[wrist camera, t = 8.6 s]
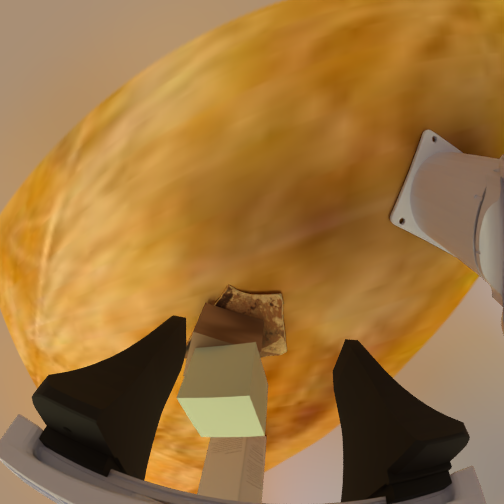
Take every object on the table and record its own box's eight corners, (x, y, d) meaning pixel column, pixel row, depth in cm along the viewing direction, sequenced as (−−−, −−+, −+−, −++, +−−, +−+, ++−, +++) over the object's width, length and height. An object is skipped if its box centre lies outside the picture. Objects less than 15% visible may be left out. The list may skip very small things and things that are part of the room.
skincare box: (230, 444, 32) (217, 519, 21) (209, 429, 31) (191, 508, 20) (269, 435, 30) (262, 517, 19) (249, 419, 29) (237, 508, 18)
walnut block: (264, 320, 23) (261, 351, 19) (247, 361, 25) (242, 393, 21) (205, 302, 23) (193, 331, 19) (194, 345, 25) (183, 375, 21)
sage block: (255, 341, 19) (249, 395, 14) (268, 384, 20) (264, 435, 16) (195, 348, 20) (176, 397, 15) (213, 388, 21) (201, 436, 16)
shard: (180, 349, 27) (175, 360, 26) (159, 283, 25) (152, 293, 23) (287, 346, 26) (287, 359, 24) (281, 275, 23) (281, 285, 22)
